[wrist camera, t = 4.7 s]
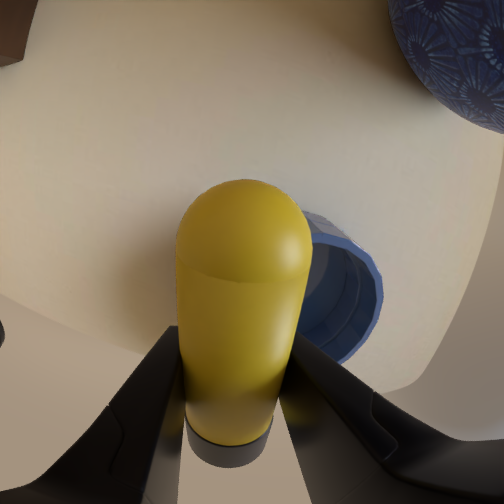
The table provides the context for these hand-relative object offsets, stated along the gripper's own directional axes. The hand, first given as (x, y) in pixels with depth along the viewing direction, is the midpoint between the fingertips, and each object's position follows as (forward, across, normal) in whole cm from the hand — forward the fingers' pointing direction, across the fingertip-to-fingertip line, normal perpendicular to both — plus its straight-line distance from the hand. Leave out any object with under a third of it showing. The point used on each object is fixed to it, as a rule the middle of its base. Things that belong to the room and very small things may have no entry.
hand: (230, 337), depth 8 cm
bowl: (+12, -5, +6) cm, 15 cm away
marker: (0, 0, 0) cm, 0 cm away
